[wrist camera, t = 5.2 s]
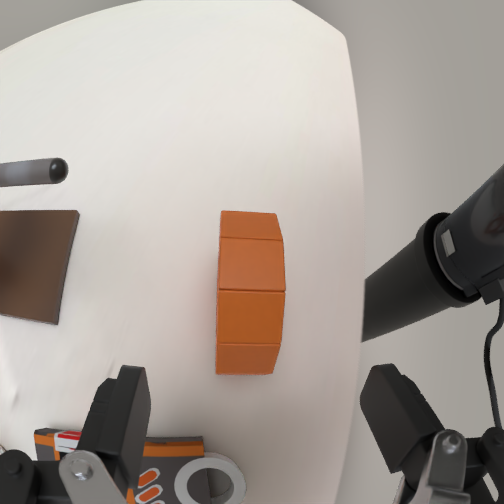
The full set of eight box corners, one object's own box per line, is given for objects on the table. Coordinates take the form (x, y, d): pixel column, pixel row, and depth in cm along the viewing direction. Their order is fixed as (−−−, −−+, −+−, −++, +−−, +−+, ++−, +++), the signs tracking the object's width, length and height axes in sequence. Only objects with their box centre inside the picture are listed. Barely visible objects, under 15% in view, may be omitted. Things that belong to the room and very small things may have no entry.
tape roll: (256, 253, 25) (279, 180, 16) (257, 376, 21) (288, 370, 12) (218, 252, 25) (223, 176, 16) (215, 375, 21) (216, 370, 12)
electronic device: (252, 522, 14) (43, 510, 11) (245, 507, 17) (57, 499, 14) (240, 437, 17) (26, 427, 14) (235, 430, 20) (44, 424, 17)
